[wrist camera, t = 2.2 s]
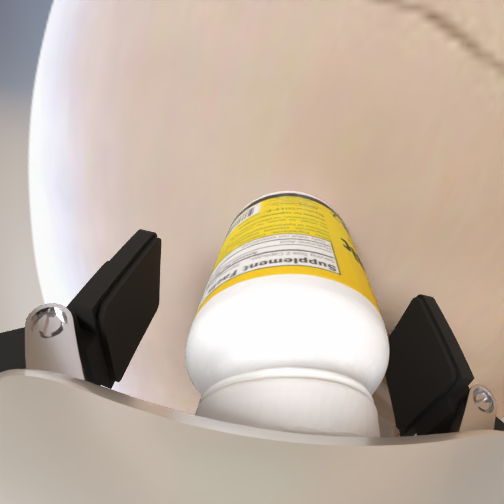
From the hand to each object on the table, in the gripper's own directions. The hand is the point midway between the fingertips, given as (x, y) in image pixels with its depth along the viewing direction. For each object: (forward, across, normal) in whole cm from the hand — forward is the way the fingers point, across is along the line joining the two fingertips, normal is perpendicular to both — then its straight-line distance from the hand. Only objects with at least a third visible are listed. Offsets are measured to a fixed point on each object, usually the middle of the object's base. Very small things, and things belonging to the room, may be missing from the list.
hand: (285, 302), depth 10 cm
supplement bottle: (+4, 0, 0) cm, 4 cm away
